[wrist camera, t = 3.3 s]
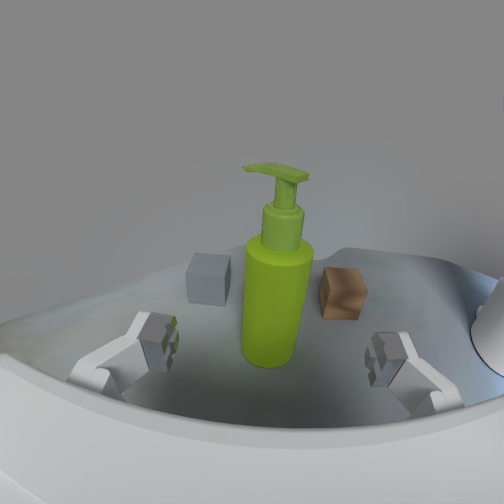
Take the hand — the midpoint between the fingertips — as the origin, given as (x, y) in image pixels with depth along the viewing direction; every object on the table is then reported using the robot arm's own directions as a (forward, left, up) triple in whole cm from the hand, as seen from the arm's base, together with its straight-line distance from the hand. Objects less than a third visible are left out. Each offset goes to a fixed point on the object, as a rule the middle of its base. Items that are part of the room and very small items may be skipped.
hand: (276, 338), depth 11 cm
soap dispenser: (0, -14, -16) cm, 22 cm away
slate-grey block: (+8, -23, -16) cm, 29 cm away
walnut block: (-10, -22, -16) cm, 29 cm away
